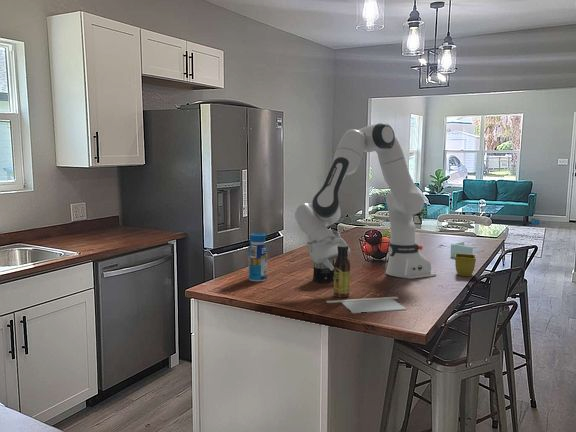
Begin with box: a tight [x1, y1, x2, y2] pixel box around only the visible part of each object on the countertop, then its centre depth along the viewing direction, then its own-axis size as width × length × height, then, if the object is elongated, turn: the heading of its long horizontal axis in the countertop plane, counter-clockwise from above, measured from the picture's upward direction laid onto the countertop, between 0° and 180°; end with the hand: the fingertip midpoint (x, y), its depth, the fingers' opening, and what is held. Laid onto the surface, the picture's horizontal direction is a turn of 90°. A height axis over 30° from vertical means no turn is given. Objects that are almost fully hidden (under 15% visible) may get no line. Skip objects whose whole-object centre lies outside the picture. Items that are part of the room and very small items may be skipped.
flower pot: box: [454, 254, 477, 277], centre depth 225 cm, size 9×9×9 cm
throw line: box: [326, 296, 399, 304], centre depth 186 cm, size 28×2×1 cm, turn 102°
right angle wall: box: [450, 241, 474, 259], centre depth 264 cm, size 12×12×8 cm
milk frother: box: [312, 259, 335, 284], centre depth 218 cm, size 14×16×15 cm
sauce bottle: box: [333, 244, 351, 298], centre depth 191 cm, size 7×6×20 cm
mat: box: [341, 299, 407, 314], centre depth 179 cm, size 20×12×1 cm, turn 102°
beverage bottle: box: [247, 232, 268, 282], centre depth 215 cm, size 8×8×20 cm
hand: (341, 267), depth 191 cm, fingers open, 8 cm apart
